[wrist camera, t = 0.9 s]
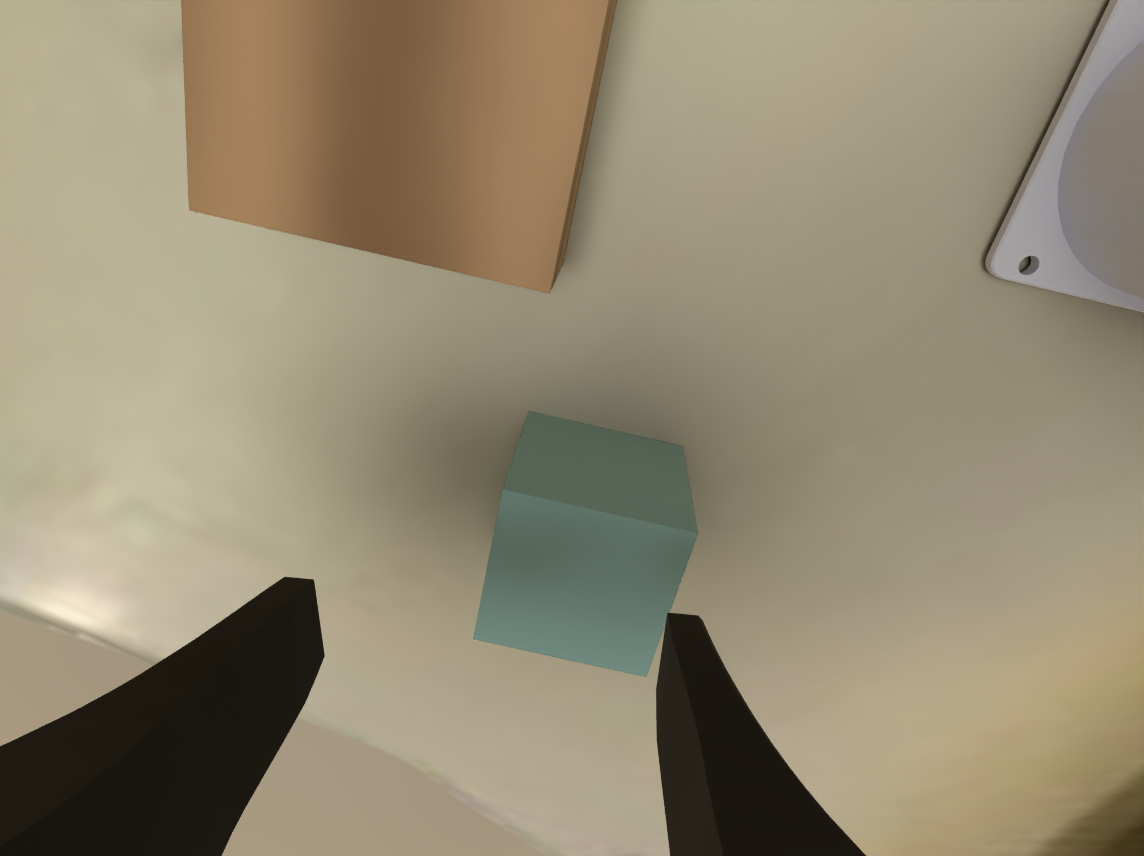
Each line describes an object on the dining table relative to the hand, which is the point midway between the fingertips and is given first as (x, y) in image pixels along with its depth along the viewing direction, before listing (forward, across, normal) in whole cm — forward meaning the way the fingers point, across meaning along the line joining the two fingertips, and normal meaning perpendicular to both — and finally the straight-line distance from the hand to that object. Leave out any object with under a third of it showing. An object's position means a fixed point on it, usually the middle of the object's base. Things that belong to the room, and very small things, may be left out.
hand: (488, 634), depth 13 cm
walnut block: (+10, +3, -11) cm, 15 cm away
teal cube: (+10, -2, +2) cm, 10 cm away
